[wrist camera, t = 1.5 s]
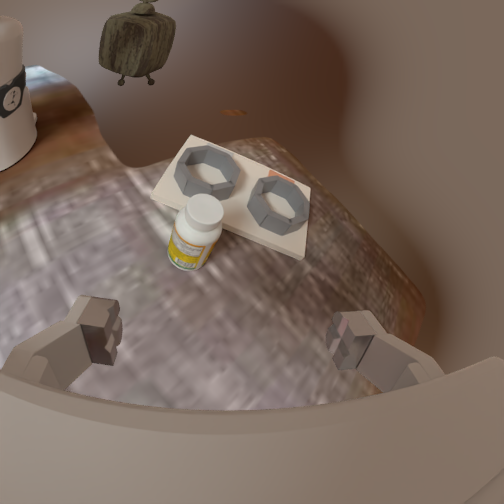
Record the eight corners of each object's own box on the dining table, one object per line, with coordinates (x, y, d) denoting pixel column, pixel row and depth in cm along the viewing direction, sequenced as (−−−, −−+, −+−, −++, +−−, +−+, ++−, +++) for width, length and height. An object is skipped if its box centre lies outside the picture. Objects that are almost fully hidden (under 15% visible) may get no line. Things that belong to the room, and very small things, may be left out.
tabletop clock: (161, 85, 53) (191, -11, 33) (136, 99, 48) (164, -11, 28) (117, 69, 52) (138, -19, 32) (92, 81, 46) (109, -17, 26)
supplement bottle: (177, 278, 33) (193, 236, 26) (160, 242, 35) (171, 194, 27) (214, 264, 36) (239, 222, 29) (196, 231, 38) (215, 184, 30)
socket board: (150, 198, 37) (153, 178, 34) (189, 139, 47) (195, 121, 43) (300, 260, 42) (315, 247, 39) (307, 192, 51) (318, 177, 48)
